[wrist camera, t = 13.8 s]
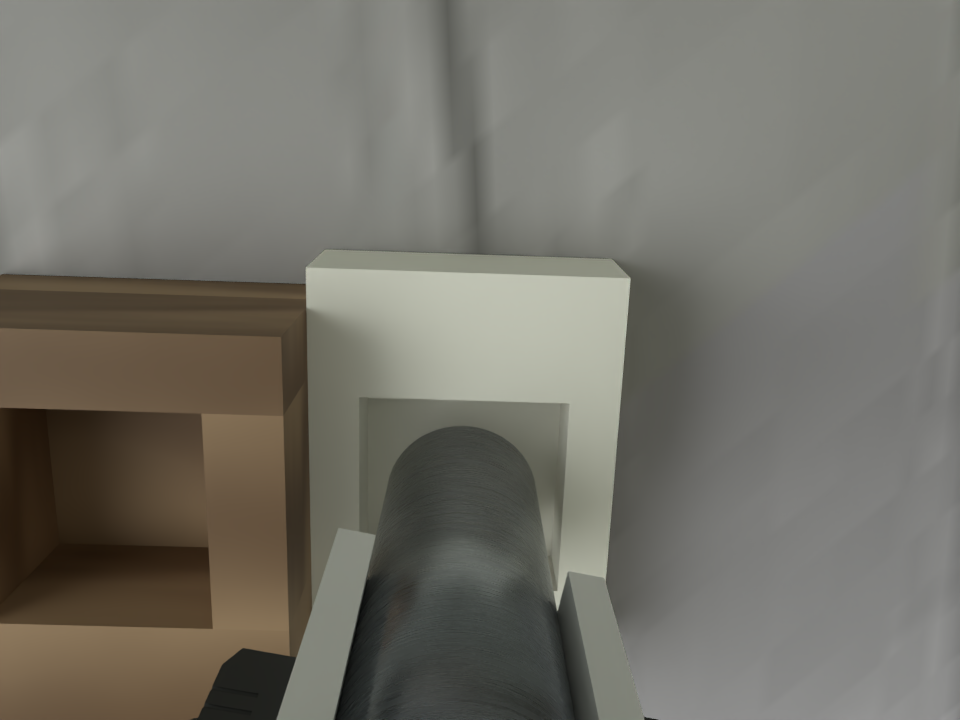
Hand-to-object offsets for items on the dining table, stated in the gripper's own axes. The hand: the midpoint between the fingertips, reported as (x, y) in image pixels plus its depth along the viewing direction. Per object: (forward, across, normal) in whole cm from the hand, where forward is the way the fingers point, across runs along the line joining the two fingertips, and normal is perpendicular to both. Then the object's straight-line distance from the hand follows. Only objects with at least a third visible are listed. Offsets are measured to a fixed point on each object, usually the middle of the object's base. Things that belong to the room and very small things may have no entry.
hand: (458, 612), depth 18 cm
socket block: (+9, -8, -5) cm, 13 cm away
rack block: (+9, 0, 0) cm, 9 cm away
